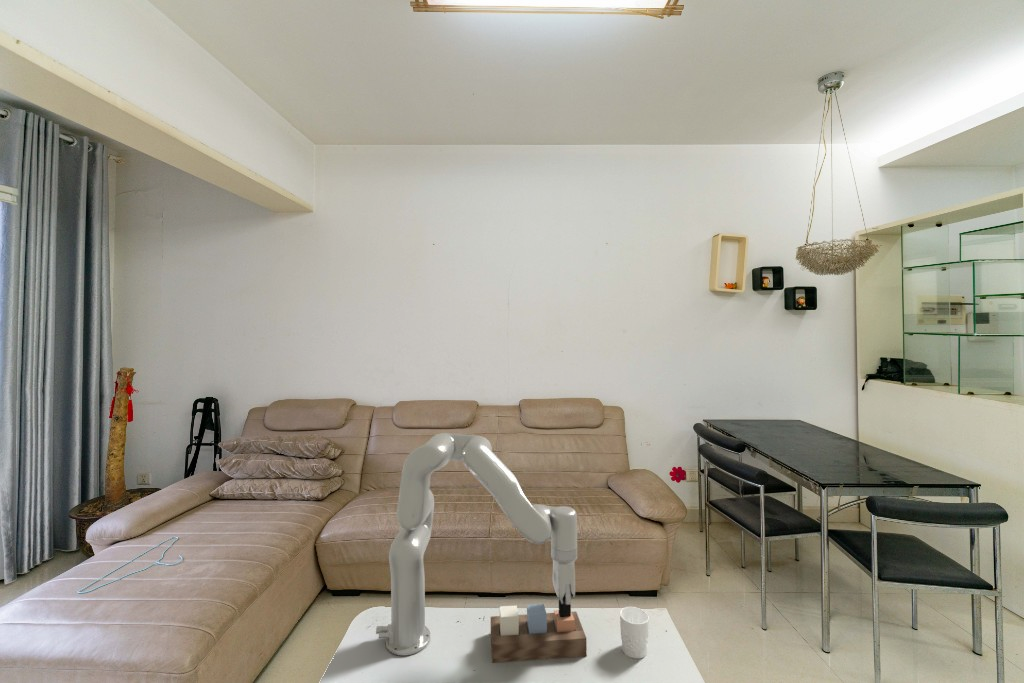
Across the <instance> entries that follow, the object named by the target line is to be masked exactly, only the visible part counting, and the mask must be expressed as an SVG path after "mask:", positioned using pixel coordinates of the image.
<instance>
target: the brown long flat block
mask: <svg viewBox="0 0 1024 683" xmlns="http://www.w3.org/2000/svg"><path fill="white" fill-rule="evenodd" d="M571 612H572V614H573V617H574V620H575V631H569V632H556V629H555V626H554V612H548V613H547V612H546V614H547V633H538V634H529V633H528V628H527V613H526V614H518V616H519V635H507V636H501V635H500V615H497V616H495V615H494V616H490V645H491V662H492V664H493V663H509V662H512V663H513V662H525V661H537V660H538V661H539V660H540V661H541V660H553V659H566V658H580V657H581V658H582V657H587V643H588V642H587V636H586V633H585V630H584V629H583V625H582V623H581V620H580V618H579V615H578V613H577V611H571Z"/></svg>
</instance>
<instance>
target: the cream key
mask: <svg viewBox="0 0 1024 683" xmlns="http://www.w3.org/2000/svg"><path fill="white" fill-rule="evenodd" d="M518 615H519V612H518V605H502V606H499V616H500V635H501V636H507V635H519V616H518Z"/></svg>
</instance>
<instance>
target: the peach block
mask: <svg viewBox="0 0 1024 683" xmlns="http://www.w3.org/2000/svg"><path fill="white" fill-rule="evenodd" d="M572 612H573V611H571V616H570V617H560V614H559V609H557V610H556V609H554V610H553V613H554V626H555V629H556V632H569V631H575V620H574V617H573V614H572Z"/></svg>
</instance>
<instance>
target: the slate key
mask: <svg viewBox="0 0 1024 683" xmlns="http://www.w3.org/2000/svg"><path fill="white" fill-rule="evenodd" d="M546 613H547V609H546V607H545V604H544V603H535V604H534V603H533V604H527V605H526V614H527V628H528V633H529V634H538V633H547V614H546Z"/></svg>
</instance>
